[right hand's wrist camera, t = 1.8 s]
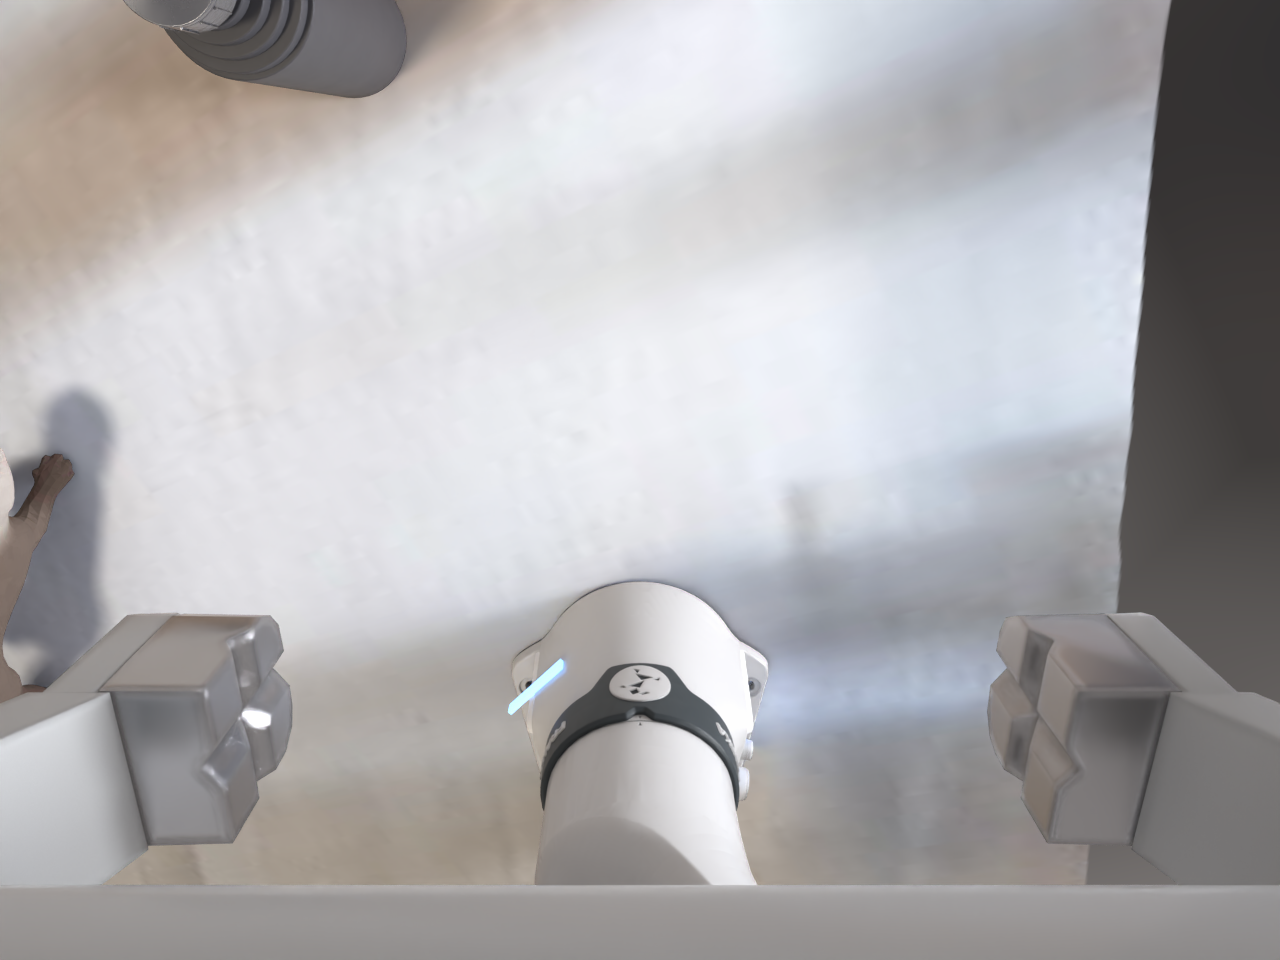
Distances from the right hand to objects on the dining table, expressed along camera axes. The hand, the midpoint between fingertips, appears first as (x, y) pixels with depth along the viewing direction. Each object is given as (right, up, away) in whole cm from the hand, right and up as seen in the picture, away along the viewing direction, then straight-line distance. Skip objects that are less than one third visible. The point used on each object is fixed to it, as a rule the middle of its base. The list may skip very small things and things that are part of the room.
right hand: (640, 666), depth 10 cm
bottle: (-17, +28, +41) cm, 52 cm away
